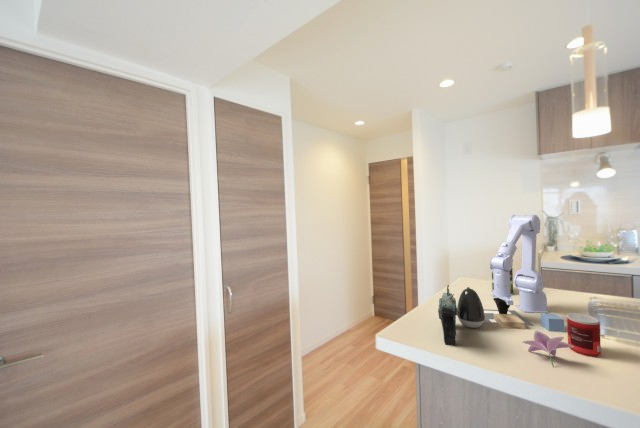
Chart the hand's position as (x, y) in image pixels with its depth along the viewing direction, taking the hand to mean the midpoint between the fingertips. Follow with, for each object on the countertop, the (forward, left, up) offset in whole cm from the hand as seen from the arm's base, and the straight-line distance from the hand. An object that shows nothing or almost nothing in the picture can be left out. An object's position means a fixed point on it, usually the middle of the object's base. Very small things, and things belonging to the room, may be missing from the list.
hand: (502, 315), depth 112 cm
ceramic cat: (+26, +17, -2) cm, 31 cm away
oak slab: (0, +5, -1) cm, 5 cm away
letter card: (0, -3, -1) cm, 3 cm away
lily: (0, +31, -2) cm, 31 cm away
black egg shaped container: (+15, +7, -2) cm, 17 cm away
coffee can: (-15, -38, -2) cm, 40 cm away
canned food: (-14, +23, -2) cm, 27 cm away
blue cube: (-14, +7, -2) cm, 16 cm away
